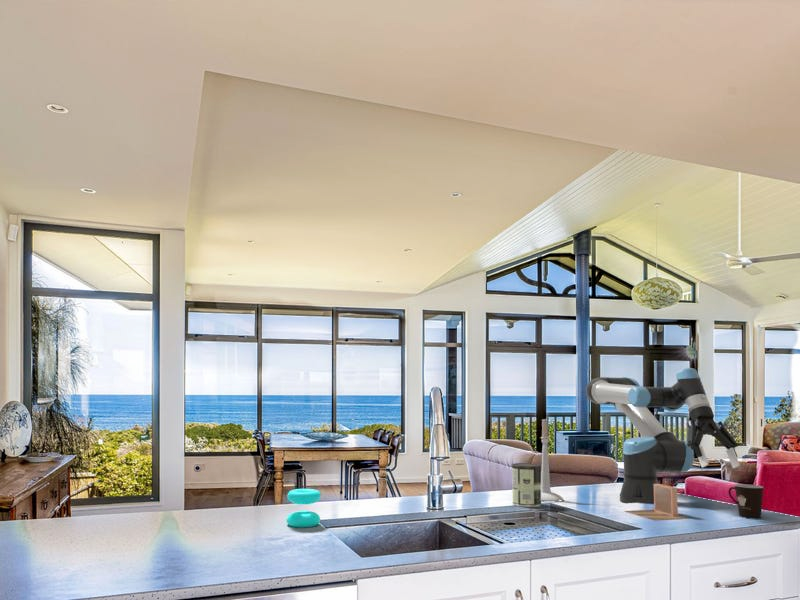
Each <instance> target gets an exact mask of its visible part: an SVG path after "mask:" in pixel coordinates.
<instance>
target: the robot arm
mask: <svg viewBox="0 0 800 600" xmlns="http://www.w3.org/2000/svg"><path fill="white" fill-rule="evenodd" d="M675 376H676V383H675V384H673V385H672V386H643V385H642V386H641V384H639V382H638V381H637V380H636V379H634V378H631V377H627V376H626V377H625V376H623V377H609V376H608V377H606V376H605V377H604V376H601V377H595V378H593V379H591V380H590V381H588V383H587V385H586V387H585V394H586V397H587V398H588V400H589V401H590V402H592V403H593V404H597V405H610V406H611V405H612V406H614V408H615V409H616V410H617V411H618V412H620V413H624V416H626V417H627V419H628V420H629V422H631V424H632V425H633V426H634V428H635V429H636V430H637V431H638V433H639V434H640V435H641V436H638V437H632V438H628V439H626V440H625V441H624V442H623V448H622V449H623V450H622V453H623V482H622V484H621V485H622V487H621V490H620V492H619V501H620V502H621V503H626V504H654V484H659V482H658V473H684V472H686V473H687V472H689V470H690V469H691V468H692V467H693V465H694V459H695V456H696V457H697V458H698V459H697V460H698V461H699V464H700V466H701V468H705V467H707V466H709V461H708V459H707V456H706V453H705V451H704V448H703V446H702V445H701V443H702V441H703V438H704V436H705V435H708V436H712V437H713V438H715V439H716V440H717V441H718V442H719V443H720V444H721V445H722V446H724V448H725V449H726V450H725V452H726V454H727V457H728V459H729V462H730V464H731V468H732V469H737V468H739V467H740V466H741V464H740V462H739V459H738V454H737V451H736V448H737V447H738V446H739V443H738V442H737V441H736V440H735V439H734V437H733V436H732V435H731V433H729V431H728V430H727V428H726V427H725V425H724V423H723V422H722V420H721V421H718V422H715V420H714V418H715V414H714V412H713V409H712V407H711V405H710V402H709V399H708V396H707V394H706V391H705V389H704V385H703V383H702V380H701V377H700V375H699V373H698V371H697V370H696V368H692V367H686V368H683V369H680V370H678V371H677V372H676V375H675ZM684 405H686V407H687V408H686V409H687V411H688V412H689V416H690V419H691V420H689V421H687V423H686V424H687V427H688V429H687V440H685V439H682V440H680V438H678V437H677V436H676V435H675V434H674V433H673V432H672V431H667V430H666V429H665V428H664V427H663V425H662V424H661V422H660V421H659V420H658V419H657V418H656V417H655V415H654V414H653V413H652V412H651V411H650V410H649V408H663V410H665V411H667V412H672V413H673V412H676V411H677V410H679V409H682V408H683V406H684Z"/></svg>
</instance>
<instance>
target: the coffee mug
mask: <svg viewBox="0 0 800 600" xmlns="http://www.w3.org/2000/svg"><path fill="white" fill-rule="evenodd" d="M732 490H734V491H735V496H736V499H735V498H734V497H733V496H732V494H731V491H732ZM728 495H729V497H730V499H732V501H733V502H734V503H735V504H736V505H737V507H738V508H737V510H738V515H740V516H742V517H741V518H743V517H746V518H745V519H750V518H756V519H757V520H758V518H760V519H762V508H763V495H764V486H762V485H759V484H758V485H755V484H747V483H746V484H745V483H742V484H741V483H739V484H734V486H733V487H732V486H731V487H730V488H728ZM740 516H739V517H740ZM756 519H755V520H756Z"/></svg>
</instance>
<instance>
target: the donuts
mask: <svg viewBox="0 0 800 600" xmlns="http://www.w3.org/2000/svg"><path fill="white" fill-rule="evenodd" d="M321 496H322V494H321V492H320V491H319V490H318V489H313V488H296V489H292V490H289V492H288V493H287V495H286V497H287V499H288V501H290V503H293V504H296V505H311V504H315V503H317V502H319V501H320V499H321ZM320 522H321V517H320V515H319V514H318V513H316V512H314V511H312V510H311V511H309V510H300V511H299V510H298V511H293V512H291V513H290V514H288V516H287V518H286V523H287V524H288V526H290V527H294V528H312V527H315V526H318V525H319V524H320Z"/></svg>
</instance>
